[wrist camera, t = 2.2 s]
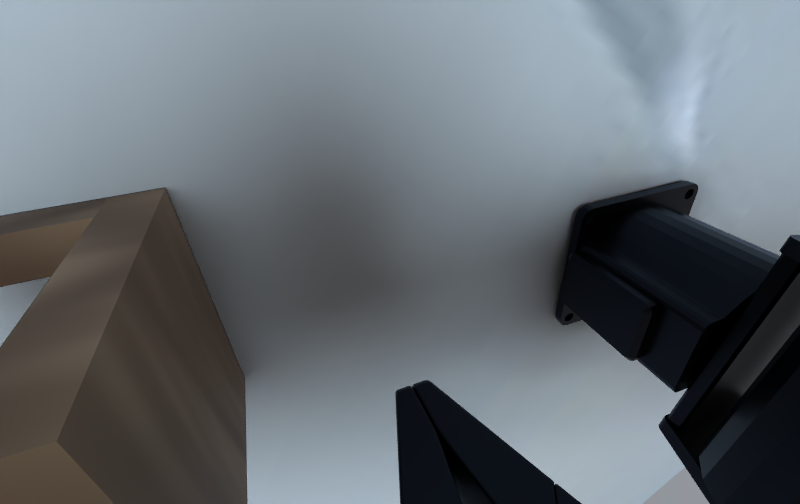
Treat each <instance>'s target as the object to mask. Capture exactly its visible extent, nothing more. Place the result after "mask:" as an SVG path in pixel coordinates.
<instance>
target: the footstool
mask: <svg viewBox="0 0 800 504" xmlns="http://www.w3.org/2000/svg"><path fill="white" fill-rule="evenodd" d="M50 276H51V278H50V279H49V280H48V282H47V283H46V285H45V286H44V287H43V289H42V290H41V292H40V293H39V294H38V296H37V297H36V298H35V300H34V301H33V303H32V304H31V305H30V307H29V308H28V310H27V311H26V312H25V314H24V315H23V316H22V318H21V319H20V321H19V322H18V323H17V325H16V326H15V328H14V329H13V330H12V332H11V333H10V334H9V336H8V337H7V339H6V340H5V341H4V343H3V344H2V346H1V347H0V504H247V458H246V405H245V378H244V376H243V373H242V371H241V368H240V366H239V364H238V361H237V359H236V356H235V354H234V352H233V349H232V347H231V344H230V342H229V340H228V337H227V335H226V332H225V330H224V328H223V325H222V323H221V320H220V318H219V316H218V313H217V311H216V308H215V306H214V304H213V301H212V299H211V296H210V294H209V292H208V289H207V287H206V284H205V282H204V280H203V277H202V275H201V272H200V270H199V267H198V265H197V263H196V260H195V258H194V255H193V253H192V251H191V248H190V246H189V243H188V241H187V239H186V236H185V234H184V231H183V229H182V227H181V224H180V222H179V219H178V217H177V215H176V212H175V210H174V207H173V205H172V203H171V200H170V198H169V195H168V193H167V191H166V188H160V189H154V190H149V191H143V192H137V193H131V194H126V195H120V196H114V197H108V198H102V199H97V200H91V201H85V202H79V203H73V204H68V205H62V206H56V207H50V208H44V209H39V210H33V211H27V212H21V213H15V214H10V215H4V216H0V287H3V286H7V285H12V284H17V283H22V282H26V281H31V280H36V279H41V278H45V277H50Z"/></svg>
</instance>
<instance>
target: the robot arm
mask: <svg viewBox="0 0 800 504" xmlns="http://www.w3.org/2000/svg"><path fill="white" fill-rule="evenodd" d="M697 191H698V185H696V184H695V183H692V182H689V181H682V182H678V183H674V184H670V185H666V186H662V187H658V188H654V189H650V190H645V191H641V192H637V193H633V194H629V195H625V196H621V197H617V198H613V199H609V200H605V201H600V202H596V203H592V204H588V205H585V206H583V207H582V208H581V209H580V210H579V211H578V212H577V214H576V217H575V220H574V225H573V230H572V235H571V240H570V245H569V250H568V255H567V260H566V265H565V270H564V275H563V280H562V285H561V290H560V295H559V300H558V305H557V309H556V314H555V318H556V319H557V320H558V321H559V322H560V323H561V324H562V325H568V324H571V323H574V322H577V321H580V320H583V321H584V322H586V323H587V324H588V325H589V326H590V327H591V328H592V329H594V330H595V331H596V332H597V333H598V334H599V335H600V336H601V337H603V338H604V339H605V340H606V341H607V342H608V343H609V344H611V345H612V346H613V347H614V348H615V349H616V350H617V351H619V352H620V353H621V354H622V355H623V356H624V357H626V358H627V359H629V360H630V361H634V360H638V361H639V362H640V363H641V364H643V365H644V366H645V367H646V368H647V369H648V370H650V371H651V372H652V373H653V374H654V375H655V376H657V377H658V378H659V379H660V380H661V381H662V382H664V383H665V384H666V385H667V386H668V387H669V388H671V389H672V390H673V391H674V392H679V391H681V390H683V389H686V388H688V389H687V390H686V391H685V393H684V394H683V396H682V397H681V399H680V400H679V401H678V403H677V404H676V406H675V407H674V409H673V410H672V411H671V413H670V414H668V415H666V416H665V417H664V418H663V419H662V421H661V422H660V424H659V428H660V430H661V432H662V433H663V434H664V436H665V437H666V439H667V440H668V442H669V443H670V445H671V446H672V448H673V449H674V451H675V452H676V454H677V455H678V457H679V458H680V460H681V461H682V463H683V464H684V466H685V467H686V469H687V470H688V472H689V473H690V474H691V476H692V478H693V479H694V481H695V482H696V483H697V485H698V487H699V488H700V490H701V491H702V493H703V494H704V496H705V497H706V499H707V500H708V502H709V503H710V504H800V235H790V236H789V238H788V239H787V241H786V242H785V244H784V245H783V246H782V248H781V249H780V252H781V253H782V254H781V256H779V255H776V254H774V253H772V252H770V251H767V250H765V249H763V248H761V247H758V246H756V245H754V244H751V243H749V242H747V241H745V240H742V239H740V238H738V237H736V236H733V235H731V234H729V233H726V232H724V231H722V230H720V229H717V228H715V227H713V226H711V225H708V224H706V223H704V222H701V221H699V220H697V219H695V218H692V217H690V216H688V215H689V213H690V210H691V207H692V205H693V202H694V200H695V197H696V194H697ZM396 417H397V440H398V462H399V485H400V504H581V503H580V502H579V501H577V500H576V499H575V498H574V497H572V496H571V495H570V494H569V493H567V492H566V491H565V490H564V489H563V488H561V487H560V486H559V485H558V484H555V485H554V482H553V481H552V480H551V479H550V478H549V477H548V476H546V475H545V474H544V473H543V472H541V471H540V470H539V469H538V468H536V467H535V466H534V465H533V464H531V463H530V462H529V461H528V460H527V459H525V458H524V457H523V456H522V455H520V454H519V453H518V452H517V451H515V450H514V449H513V448H512V447H511V446H509V445H508V444H507V443H506V442H504V441H503V440H502V439H501V438H499V437H498V436H497V435H496V434H494V433H493V432H492V431H491V430H490V429H488V428H487V427H486V426H485V425H483V424H482V423H481V422H480V421H478V420H477V419H476V418H475V417H474V416H472V415H471V414H470V413H469V412H467V411H466V410H465V409H464V408H462V407H461V406H460V405H459V404H457V403H456V402H455V401H454V400H453V399H451V398H450V397H449V396H448V395H446V394H445V393H444V392H443V391H441V390H440V389H439V388H438V387H436V386H435V385H434V384H433V383H432V382H430V381H428V380H425V381H422V382H419V383H416V384H414V385H413V386H412V387H411V386H407V387H404V388H401V389H399V390H397V391H396Z"/></svg>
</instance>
